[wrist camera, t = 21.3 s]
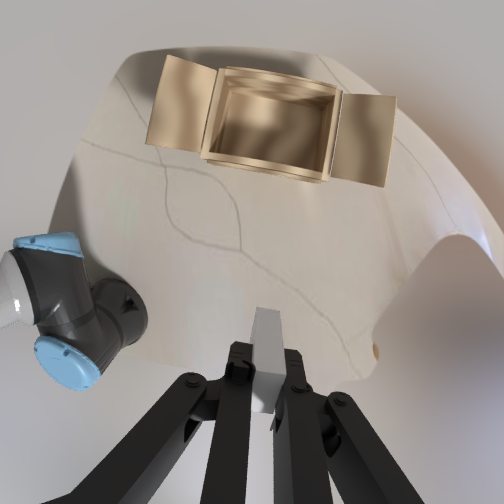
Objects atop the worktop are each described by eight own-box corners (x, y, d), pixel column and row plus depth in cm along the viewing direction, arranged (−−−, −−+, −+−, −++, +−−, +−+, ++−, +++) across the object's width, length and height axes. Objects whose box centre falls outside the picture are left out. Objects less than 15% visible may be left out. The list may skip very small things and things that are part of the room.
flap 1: (199, 152, 36) (198, 152, 36) (217, 70, 33) (215, 71, 33) (146, 144, 31) (145, 144, 31) (167, 54, 28) (166, 55, 28)
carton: (212, 165, 47) (199, 161, 37) (228, 86, 43) (220, 65, 33) (314, 184, 47) (327, 184, 37) (328, 104, 43) (343, 87, 33)
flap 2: (384, 187, 31) (385, 188, 31) (396, 96, 28) (397, 97, 28) (330, 176, 36) (331, 177, 36) (343, 93, 33) (344, 94, 33)
